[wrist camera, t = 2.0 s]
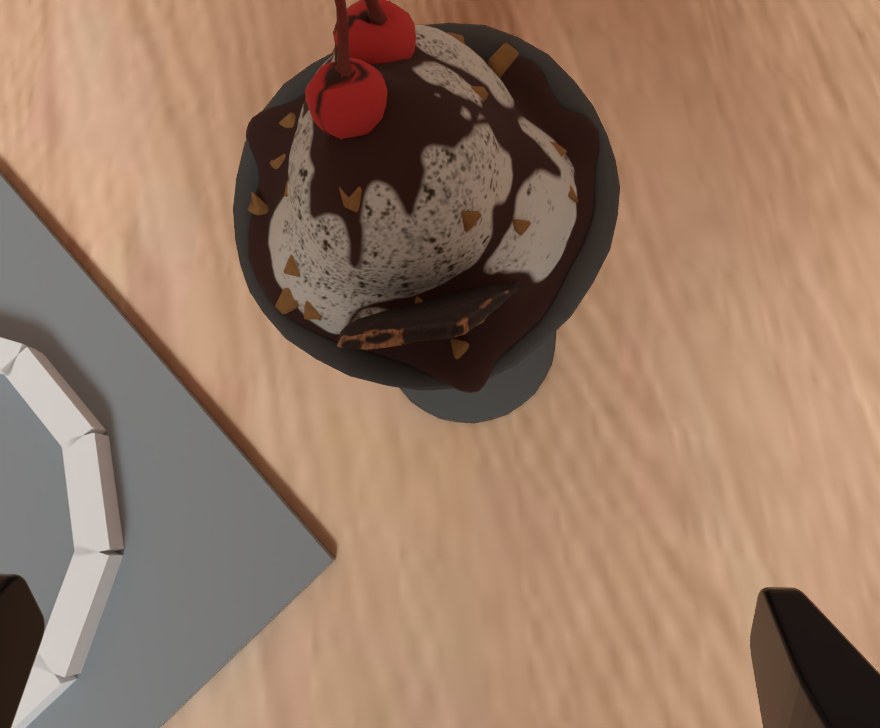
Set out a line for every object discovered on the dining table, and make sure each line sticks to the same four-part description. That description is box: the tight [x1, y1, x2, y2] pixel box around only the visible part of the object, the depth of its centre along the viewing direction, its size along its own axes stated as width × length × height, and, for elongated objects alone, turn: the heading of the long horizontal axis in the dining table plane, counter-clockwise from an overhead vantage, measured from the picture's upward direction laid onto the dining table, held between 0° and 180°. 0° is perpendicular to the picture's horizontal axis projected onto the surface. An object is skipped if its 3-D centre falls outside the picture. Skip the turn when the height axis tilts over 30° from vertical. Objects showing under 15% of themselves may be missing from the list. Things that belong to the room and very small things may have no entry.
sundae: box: [233, 0, 620, 423], centre depth 16 cm, size 7×7×15 cm
